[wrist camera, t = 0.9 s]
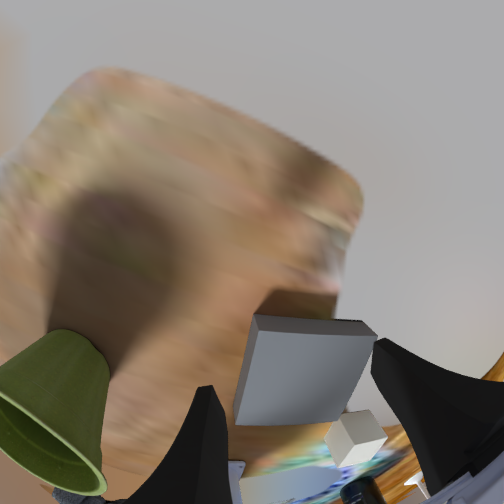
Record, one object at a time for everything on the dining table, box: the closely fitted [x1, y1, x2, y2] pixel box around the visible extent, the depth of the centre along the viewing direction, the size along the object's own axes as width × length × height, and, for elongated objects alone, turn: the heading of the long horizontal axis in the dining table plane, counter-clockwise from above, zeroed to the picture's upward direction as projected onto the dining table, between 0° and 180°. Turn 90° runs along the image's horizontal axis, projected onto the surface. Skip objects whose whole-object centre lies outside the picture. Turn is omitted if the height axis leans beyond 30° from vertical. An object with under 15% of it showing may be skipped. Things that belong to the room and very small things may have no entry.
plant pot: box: [0, 329, 110, 496], centre depth 14 cm, size 12×12×11 cm
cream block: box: [324, 410, 388, 468], centre depth 23 cm, size 4×4×5 cm
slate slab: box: [233, 314, 378, 426], centre depth 21 cm, size 10×10×3 cm
